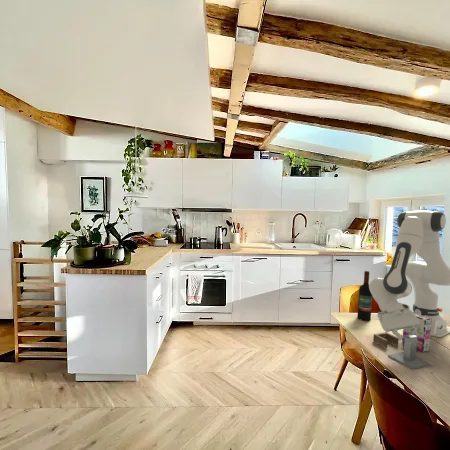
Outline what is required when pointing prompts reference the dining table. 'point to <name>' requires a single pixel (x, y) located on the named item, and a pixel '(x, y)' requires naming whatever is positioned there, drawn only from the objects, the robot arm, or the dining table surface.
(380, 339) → the holder
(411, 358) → the gray rectangular block
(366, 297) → the wine bottle
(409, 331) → the candy bar box
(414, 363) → the coaster
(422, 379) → the dining table surface
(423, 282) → the robot arm
